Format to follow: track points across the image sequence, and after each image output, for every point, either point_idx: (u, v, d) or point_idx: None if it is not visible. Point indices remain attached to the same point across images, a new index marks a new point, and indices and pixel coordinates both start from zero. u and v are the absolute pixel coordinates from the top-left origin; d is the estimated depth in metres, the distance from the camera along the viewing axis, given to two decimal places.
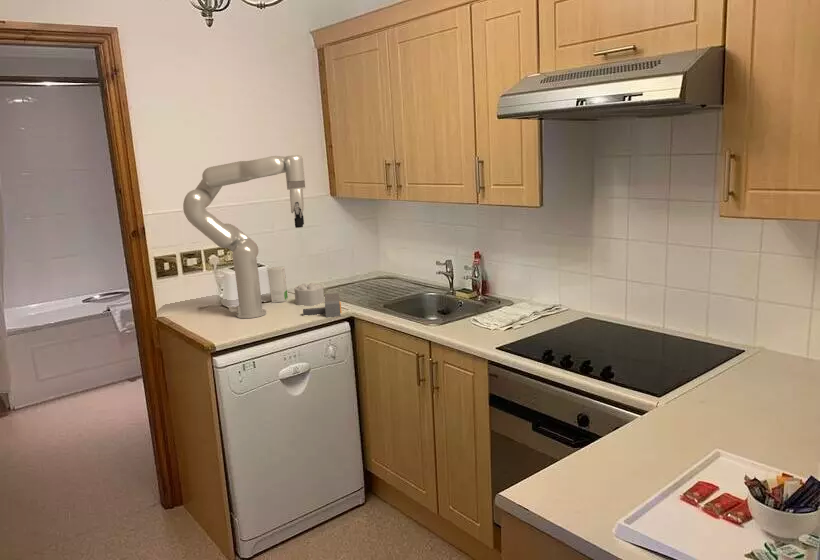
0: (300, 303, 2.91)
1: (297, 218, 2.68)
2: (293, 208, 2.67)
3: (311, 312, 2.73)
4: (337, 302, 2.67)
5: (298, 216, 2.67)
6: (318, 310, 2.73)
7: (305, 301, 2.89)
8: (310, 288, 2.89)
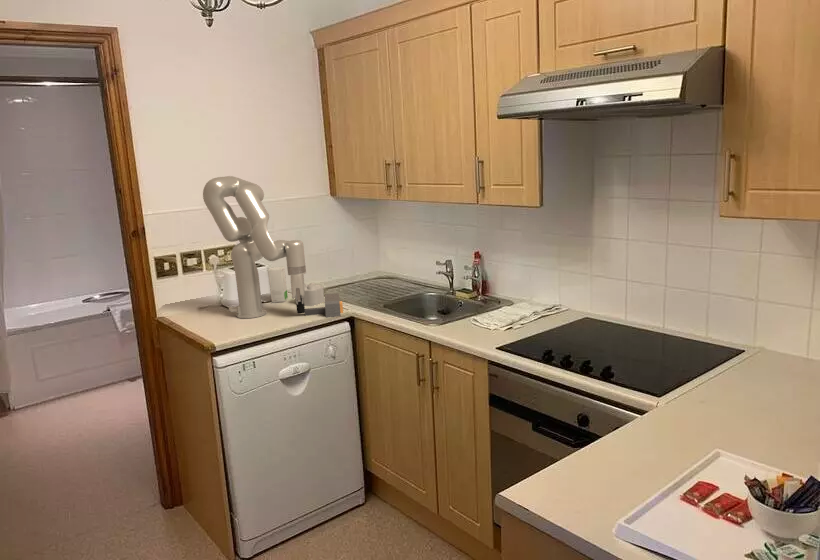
0: None
1: (299, 304, 2.71)
2: (294, 294, 2.66)
3: (313, 312, 2.73)
4: (337, 302, 2.67)
5: (300, 303, 2.70)
6: (320, 310, 2.73)
7: (305, 301, 2.89)
8: (310, 288, 2.89)
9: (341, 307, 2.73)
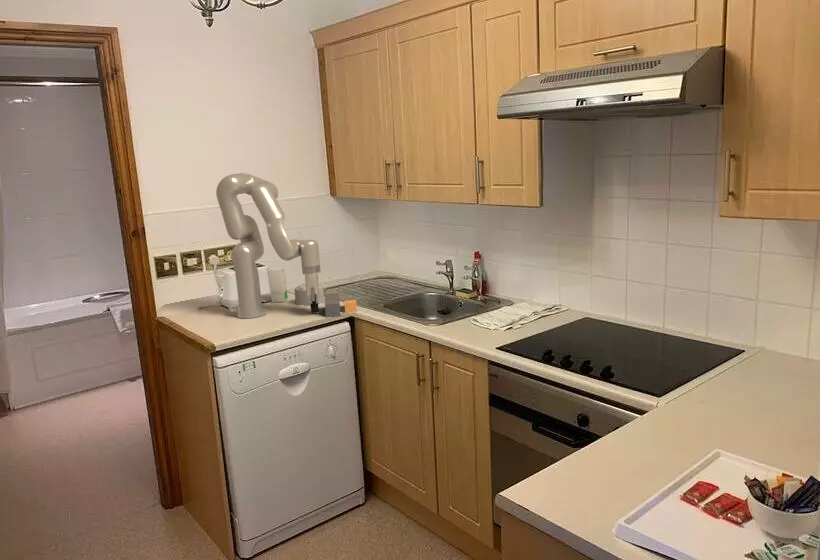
0: (300, 303, 2.91)
1: (313, 304, 2.72)
2: (308, 293, 2.67)
3: None
4: (337, 302, 2.67)
5: (314, 302, 2.71)
6: None
7: (305, 301, 2.89)
8: None
9: (355, 306, 2.73)
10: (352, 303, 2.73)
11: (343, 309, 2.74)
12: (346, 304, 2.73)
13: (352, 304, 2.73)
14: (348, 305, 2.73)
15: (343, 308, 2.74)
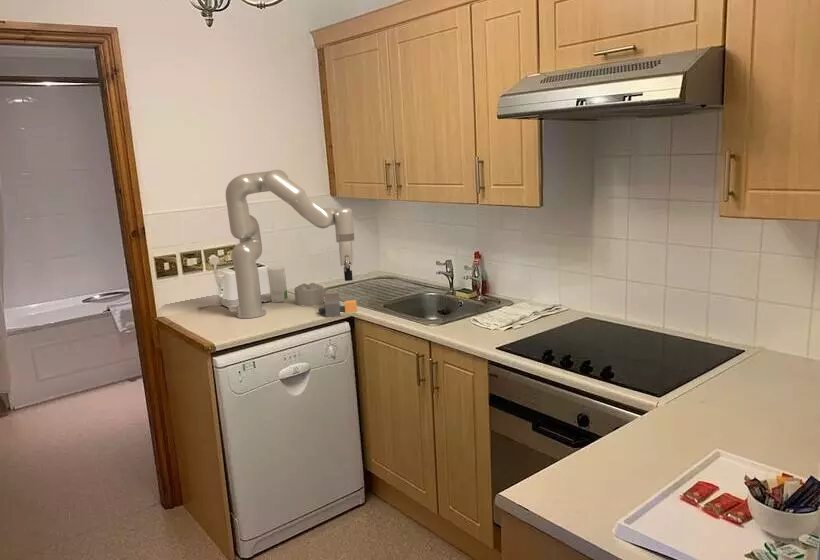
0: (300, 303, 2.91)
1: (347, 271, 2.66)
2: (343, 261, 2.66)
3: None
4: (337, 302, 2.67)
5: (348, 269, 2.66)
6: None
7: (305, 301, 2.89)
8: (310, 288, 2.89)
9: (355, 306, 2.73)
10: (352, 303, 2.73)
11: (343, 309, 2.74)
12: (346, 304, 2.73)
13: (352, 304, 2.73)
14: (348, 305, 2.73)
15: (343, 308, 2.74)
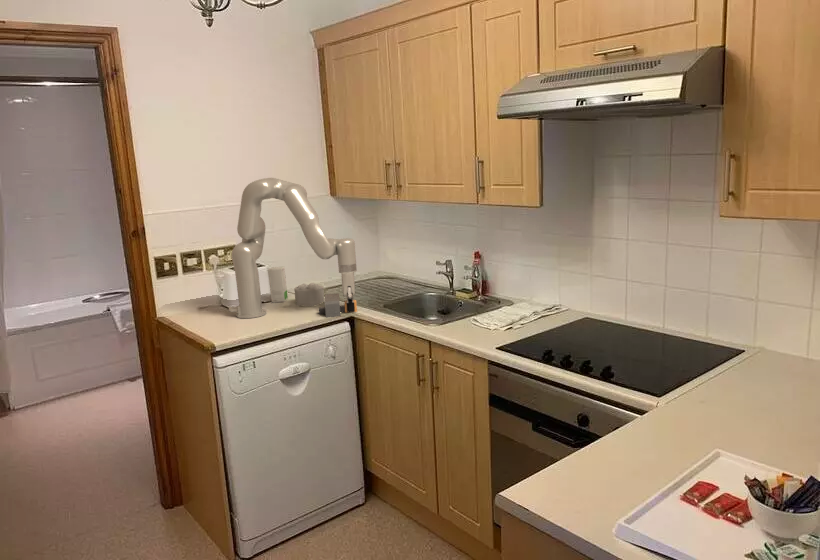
0: (300, 303, 2.91)
1: (349, 303, 2.72)
2: (345, 292, 2.69)
3: None
4: (337, 302, 2.67)
5: (350, 301, 2.71)
6: None
7: (305, 301, 2.89)
8: (310, 288, 2.89)
9: (355, 306, 2.73)
10: None
11: (343, 309, 2.74)
12: (346, 304, 2.73)
13: None
14: None
15: (343, 308, 2.74)
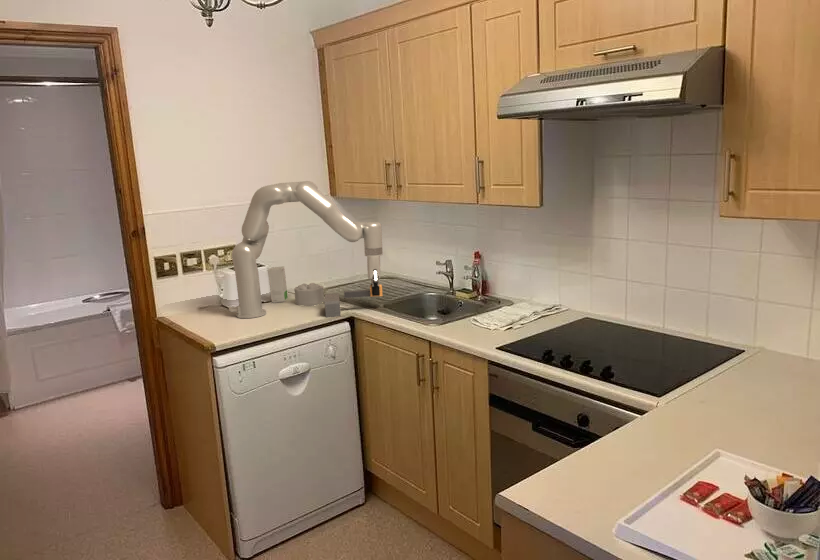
0: (300, 303, 2.91)
1: (375, 287, 2.72)
2: (371, 275, 2.69)
3: (352, 294, 2.73)
4: (337, 302, 2.67)
5: (376, 285, 2.71)
6: (359, 292, 2.73)
7: (305, 301, 2.89)
8: (310, 288, 2.89)
9: (380, 290, 2.74)
10: None
11: (369, 293, 2.74)
12: None
13: None
14: None
15: (369, 292, 2.74)
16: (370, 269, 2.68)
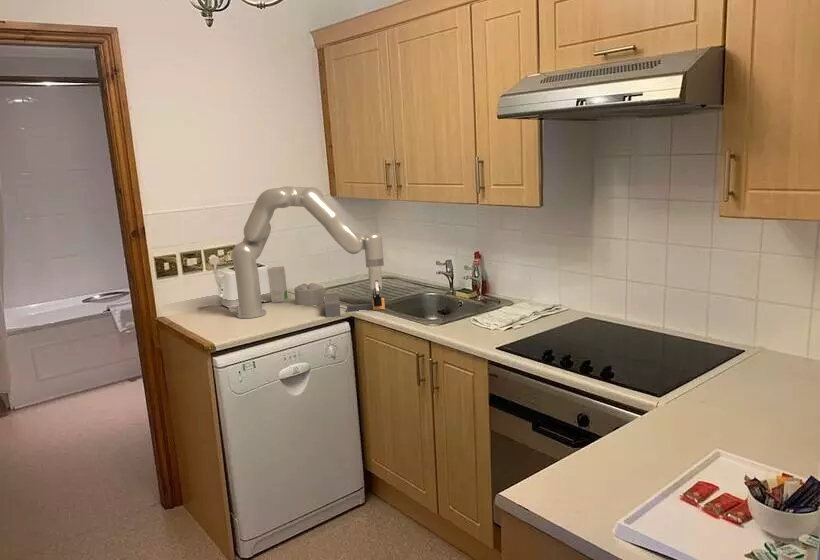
0: (300, 303, 2.91)
1: (376, 297, 2.71)
2: (373, 286, 2.70)
3: (355, 309, 2.75)
4: (337, 302, 2.67)
5: (378, 296, 2.71)
6: (362, 306, 2.75)
7: (305, 301, 2.89)
8: (310, 288, 2.89)
9: (383, 304, 2.75)
10: None
11: (371, 307, 2.75)
12: None
13: None
14: None
15: (371, 306, 2.75)
16: (371, 280, 2.69)
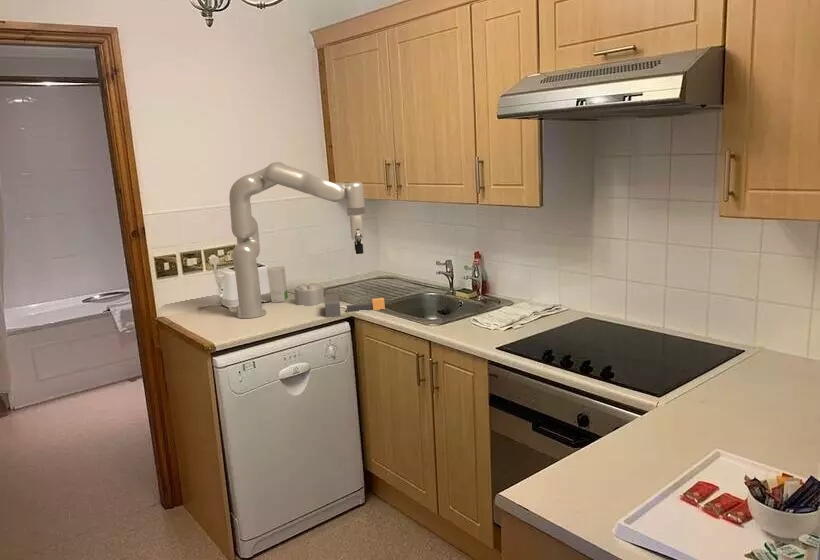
0: (300, 303, 2.91)
1: (358, 244, 2.70)
2: (354, 235, 2.70)
3: (355, 309, 2.75)
4: (337, 302, 2.67)
5: (359, 243, 2.69)
6: (362, 306, 2.75)
7: (305, 301, 2.89)
8: (310, 288, 2.89)
9: (383, 304, 2.75)
10: (380, 301, 2.74)
11: (371, 307, 2.75)
12: (374, 302, 2.74)
13: (380, 302, 2.74)
14: (376, 303, 2.74)
15: (371, 306, 2.75)
16: (353, 229, 2.69)
